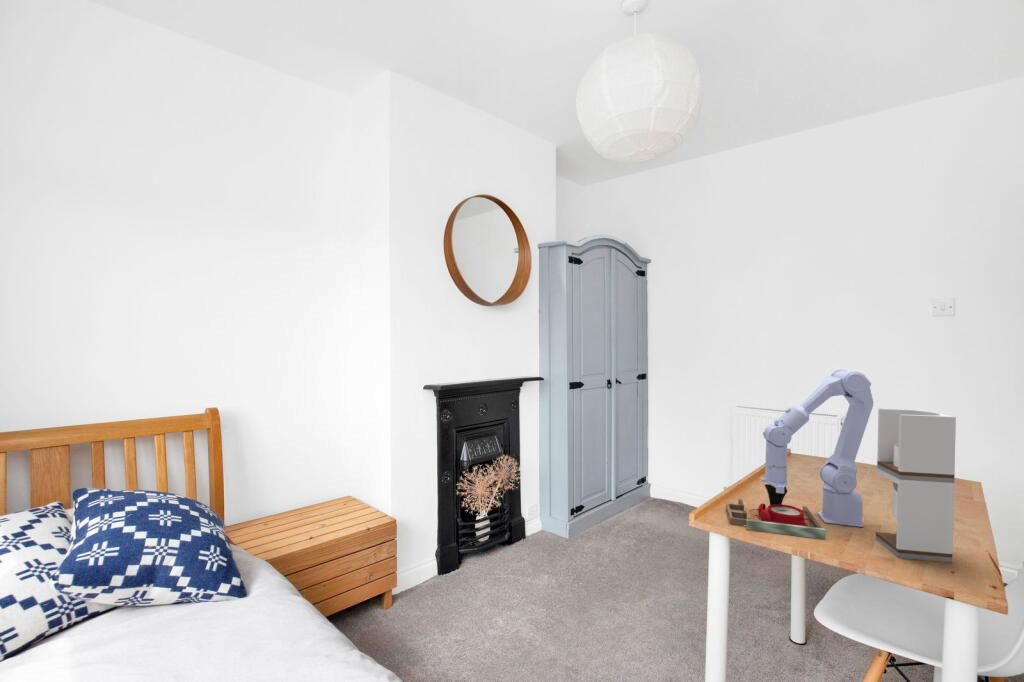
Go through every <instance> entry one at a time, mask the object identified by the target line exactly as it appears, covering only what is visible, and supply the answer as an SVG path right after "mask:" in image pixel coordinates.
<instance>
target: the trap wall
mask: <svg viewBox="0 0 1024 682" xmlns="http://www.w3.org/2000/svg"><path fill="white" fill-rule="evenodd" d="M737 500H738V502H737V504H738V505H741V508H740V510H741V511H743V519H746V526H745V529H746V528H747V529H751V530H750V531H755V530H756V531H755V532H763V531H764V532H765V533H772V534H780V535H787V536H797V537H804V538H811V539H818V540H826V532H827V531H826V529H825V528H823V527H822V526H821V524H819V522H818V520H817V519H816V518H815V516H814V515H813V514H812V512H811V511H810V510H809V508H808V506H805V505H802V511H803V512H804V517H806V518H805V519H809V520H812V521H809V520H807V521H808V522H809V524H810V525H811V526H808V527H807V526H798V525H790V524H782V523H773V522H765V521H761V520H757V519H756V520H754V519H748V513H747V511H746V510H745V503H744V502H743V500H742V499H741V498H738V499H737ZM805 511H806V513H805ZM747 529H746V530H747Z"/></svg>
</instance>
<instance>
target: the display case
mask: <svg viewBox="0 0 1024 682" xmlns="http://www.w3.org/2000/svg"><path fill="white" fill-rule="evenodd" d="M877 409H878V412H877V413H878V416H877V417H878V418H877V419H878V421H877V458H876V459H877V462H876V474H878V475H880V476H881V477H883V478H885V479H887V480H888V481H891V482H892V506H891V507H892V510H891V511H892V515H893V517H894V518H895V520H896V533H891V532H890V533H889V532H879V531H878V532H875V541H876V540H877V541H876V542H877V543H879V544H880V543H881V544H880V545H882V546H883V547H884V548H885V549H886V550H887V551H889V552H890V553H892V554H893V555H895V557H896V558H899V559H909V560H919V561H920V560H921V561H933V562H942V563H943V562H944V563H953V558H954V557H953V555H954V554H953V553H954V551H953V550H954V518H955V517H954V513H955V512H954V511H955V510H954V509H955V506H954V505H955V470H956V469H955V467H956V466H955V465H956V430H957V429H956V428H957V426H956V425H957V421H956V420H957V417H956V416H953V415H948V414H945V413H941V412H937V411H932V410H926V409H902V408H899V409H897V408H877Z"/></svg>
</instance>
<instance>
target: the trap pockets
mask: <svg viewBox="0 0 1024 682" xmlns="http://www.w3.org/2000/svg"><path fill="white" fill-rule="evenodd" d="M725 505H726V506H725V510H726V514H727V517H729V518H728V522H729V521H730V522H729V524H730V525H733V524H735V525H734V526H741V525H746V519H743V511H741V510H740V508H741V505H738V503H737V504H735V503H728V502H727V503H725Z"/></svg>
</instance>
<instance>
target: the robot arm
mask: <svg viewBox="0 0 1024 682" xmlns="http://www.w3.org/2000/svg"><path fill="white" fill-rule="evenodd" d="M871 385H872V382H871V381H870V379H868V378H867V376H866V375H865V374H864V373H862V372H860V371H852V370H850V371H849V370H846V369H836V370H834V371H833V372H832V373H831V374H830V375H828V376H827V377H825V379H824V380H823V381H822V383H820V385H818V387H817V388H816V389H815V390H813V392H812V393H811V394H810V395H809V396H808V397H807V398H806V399H805V400H804V401H803V402H802V403H801V404H800V405H798V406H796V405H795V406H794V405H793V406H791V407H787V408H786V409H785V410H784V411H785V413H784V414H783V415H781V416H780V417H779V418H778V419H774V421H773V424H769V425H767V426H766V427H765V428H764V431H762V435H763V438H764V439H765V441H766V442H765V467H764V468H765V471H764V472H765V474H764V475H765V477H760V481H761V482H764V483H765V484H764V487H765V489H766V491H767V494H768V500H769V505H773V504H782V505H783V500H784V497H785V496H786V495H787V493H788V489H787V485H788V483H789V482H788V444H790V443H791V440H792V436H793V435H794V434H796V432H798V431H799V430H800V429H801V428H802V427H804V426H805V425H806V424H807V423H808V422H809V421H810V414H812V412H814V411H815V410H816V409H818V408H819V407H820V406H822V404H824V403H825V402H827V401H828V400H829V399H830V398H831V397H837V396H843V397H844V399H845V400H846V401H847V403H848V404H849V405H848V408H847V412H846V413H845V416H844V417H845V418H844V421H843V423H842V426H841V430H840V433H839V435H838V439H837V442H836V445H835V448H834V451H833V454H831V455H830V456H828V458H827V460H826V462H825V464H823V466H821V468H820V470H819V477H820V479H821V481H823V485H822V508H821V509H822V511H818V512H817V514H818V516H820V518H821V519H822V521H823V522H824V523H826V524H834V525H843V526H851V527H858V528H859V527H860V528H861V527H862V528H863V527H864V525H863V511H864V509H863V505H864V503H863V498H862V495H861V493H860V492H859V491H854V490H855V489H856V488H857V484H858V482H857V473H858V469H857V468H858V467H857V465H856V463H855V462H856V459H857V456H858V452H859V449H860V447H861V444H862V439H863V437H864V434H865V431H866V428H867V425H868V422H869V419H870V416H871V413H872V410H873V407H874V399H873V394H872V390H871Z"/></svg>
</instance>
